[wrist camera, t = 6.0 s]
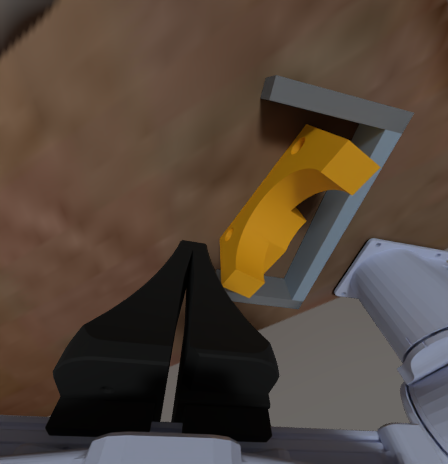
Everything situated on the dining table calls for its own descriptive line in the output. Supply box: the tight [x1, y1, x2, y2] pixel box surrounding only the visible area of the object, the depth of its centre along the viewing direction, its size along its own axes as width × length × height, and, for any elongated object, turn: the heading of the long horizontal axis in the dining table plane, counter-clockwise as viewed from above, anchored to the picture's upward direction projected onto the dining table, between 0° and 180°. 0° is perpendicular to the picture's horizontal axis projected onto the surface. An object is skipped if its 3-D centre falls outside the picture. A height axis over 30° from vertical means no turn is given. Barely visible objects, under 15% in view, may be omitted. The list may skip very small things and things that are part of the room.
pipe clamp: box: [220, 124, 381, 298], centre depth 17 cm, size 12×4×6 cm, turn 147°
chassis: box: [216, 75, 414, 309], centre depth 19 cm, size 9×18×3 cm, turn 168°
